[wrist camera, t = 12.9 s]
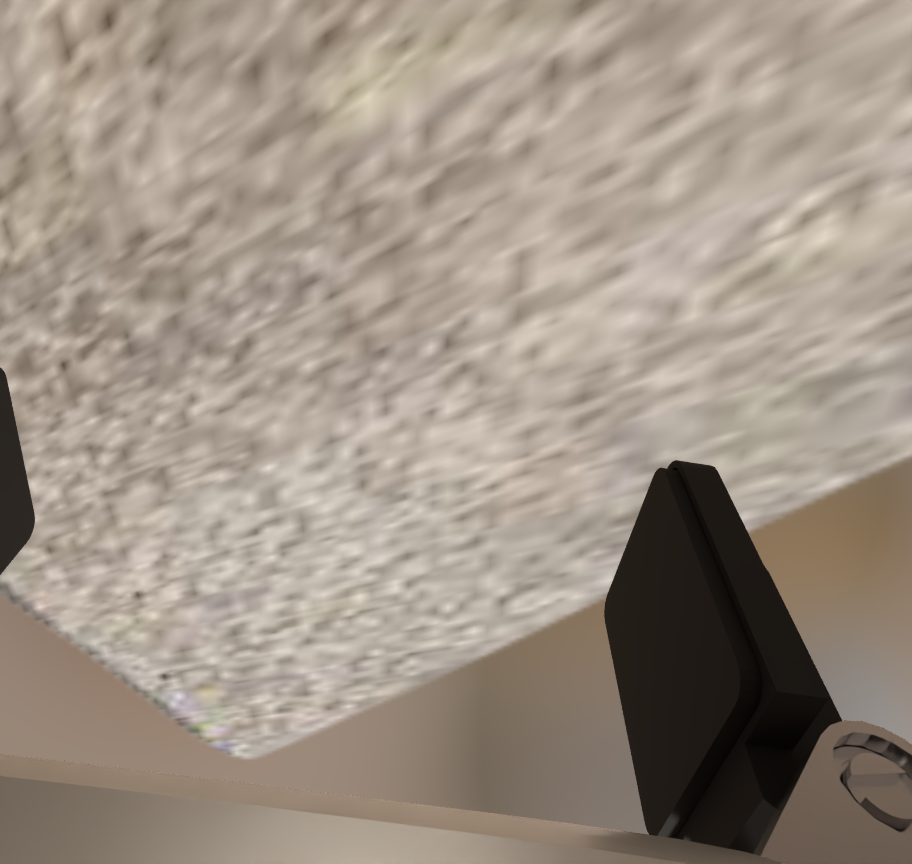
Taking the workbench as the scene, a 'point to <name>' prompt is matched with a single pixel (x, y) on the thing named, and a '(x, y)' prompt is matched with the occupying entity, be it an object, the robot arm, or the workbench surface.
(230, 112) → the workbench surface
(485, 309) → the workbench surface
